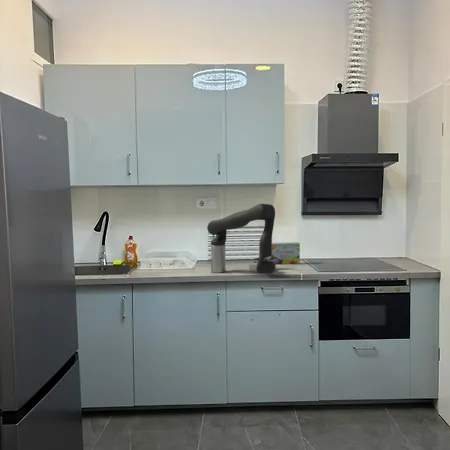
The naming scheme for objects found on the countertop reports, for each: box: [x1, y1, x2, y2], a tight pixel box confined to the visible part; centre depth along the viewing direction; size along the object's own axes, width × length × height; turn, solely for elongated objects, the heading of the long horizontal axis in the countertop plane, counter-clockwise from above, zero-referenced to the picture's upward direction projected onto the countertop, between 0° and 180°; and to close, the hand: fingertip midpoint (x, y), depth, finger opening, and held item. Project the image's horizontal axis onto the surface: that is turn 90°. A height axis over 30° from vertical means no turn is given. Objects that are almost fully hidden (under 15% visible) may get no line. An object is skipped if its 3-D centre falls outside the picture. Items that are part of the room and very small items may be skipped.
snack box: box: [269, 241, 301, 265], centre depth 303 cm, size 21×6×15 cm, turn 94°
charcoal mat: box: [248, 264, 279, 273], centre depth 283 cm, size 18×28×1 cm, turn 177°
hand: (263, 258), depth 275 cm, fingers closed
